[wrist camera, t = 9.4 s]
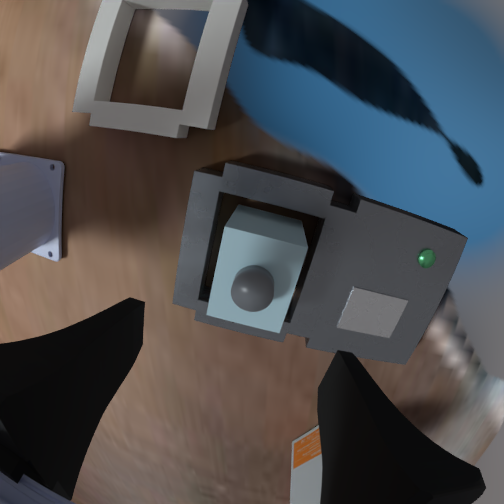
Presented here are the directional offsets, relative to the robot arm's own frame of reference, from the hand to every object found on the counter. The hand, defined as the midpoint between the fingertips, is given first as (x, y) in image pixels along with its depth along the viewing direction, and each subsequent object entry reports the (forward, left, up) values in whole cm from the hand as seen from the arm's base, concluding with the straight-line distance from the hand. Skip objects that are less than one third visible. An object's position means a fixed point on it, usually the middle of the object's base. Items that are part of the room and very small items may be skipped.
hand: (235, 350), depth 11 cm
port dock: (+4, 0, -10) cm, 11 cm away
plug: (0, 0, -10) cm, 10 cm away
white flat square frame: (-9, +11, -10) cm, 17 cm away
